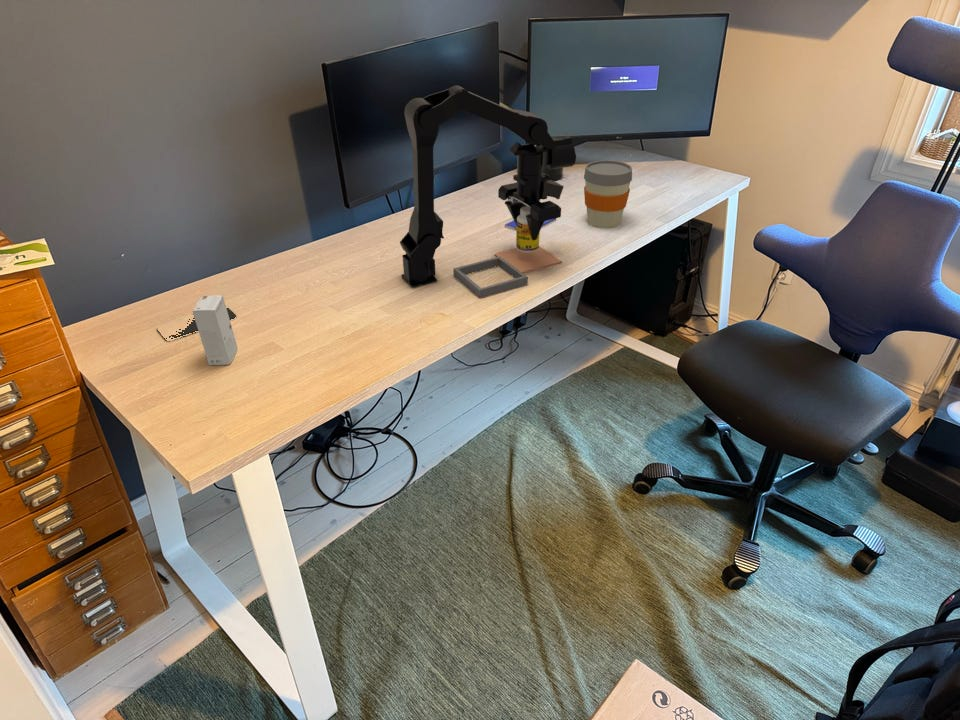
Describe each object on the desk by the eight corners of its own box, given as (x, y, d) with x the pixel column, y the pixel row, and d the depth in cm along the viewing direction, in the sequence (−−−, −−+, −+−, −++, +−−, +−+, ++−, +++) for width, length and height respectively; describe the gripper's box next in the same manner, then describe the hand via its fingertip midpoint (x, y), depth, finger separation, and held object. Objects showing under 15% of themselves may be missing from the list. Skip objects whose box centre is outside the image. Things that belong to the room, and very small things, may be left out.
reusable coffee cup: (571, 221, 186) (574, 167, 177) (600, 209, 192) (605, 157, 184) (606, 234, 178) (612, 179, 169) (636, 221, 185) (643, 167, 176)
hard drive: (532, 210, 190) (504, 223, 183) (556, 217, 186) (528, 231, 178) (532, 215, 191) (504, 229, 184) (556, 222, 187) (528, 236, 179)
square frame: (479, 298, 150) (479, 290, 149) (453, 276, 160) (453, 268, 158) (527, 284, 155) (527, 276, 154) (499, 263, 165) (499, 256, 163)
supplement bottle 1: (511, 249, 165) (512, 209, 159) (525, 242, 168) (526, 202, 162) (529, 255, 162) (530, 215, 156) (543, 248, 165) (545, 208, 159)
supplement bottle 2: (560, 173, 218) (562, 136, 211) (564, 181, 213) (566, 142, 206) (539, 174, 218) (540, 136, 211) (542, 181, 212) (543, 143, 206)
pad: (519, 274, 160) (519, 272, 159) (494, 255, 168) (494, 253, 168) (561, 262, 165) (561, 260, 164) (534, 245, 173) (534, 243, 173)
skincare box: (231, 365, 130) (216, 310, 123) (207, 366, 130) (191, 311, 123) (238, 347, 135) (224, 294, 128) (215, 348, 135) (200, 295, 128)
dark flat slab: (238, 316, 145) (166, 340, 137) (238, 320, 145) (167, 344, 137) (224, 303, 149) (154, 326, 142) (225, 307, 150) (156, 329, 142)
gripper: (582, 177, 151) (577, 242, 159) (536, 155, 164) (534, 216, 173) (541, 186, 146) (538, 252, 155) (497, 162, 160) (497, 224, 168)
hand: (527, 235), depth 163 cm, fingers closed on supplement bottle 1, 5 cm apart
